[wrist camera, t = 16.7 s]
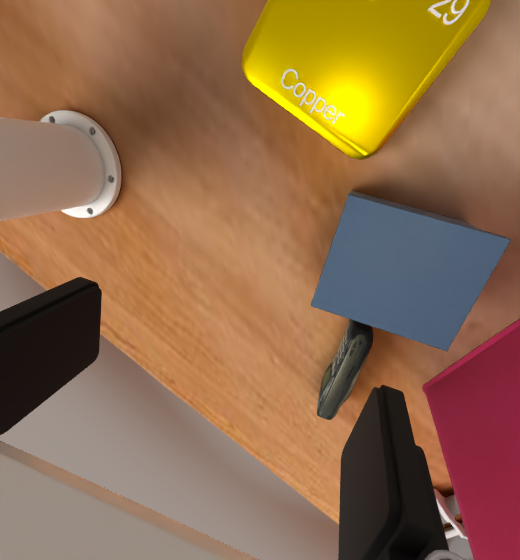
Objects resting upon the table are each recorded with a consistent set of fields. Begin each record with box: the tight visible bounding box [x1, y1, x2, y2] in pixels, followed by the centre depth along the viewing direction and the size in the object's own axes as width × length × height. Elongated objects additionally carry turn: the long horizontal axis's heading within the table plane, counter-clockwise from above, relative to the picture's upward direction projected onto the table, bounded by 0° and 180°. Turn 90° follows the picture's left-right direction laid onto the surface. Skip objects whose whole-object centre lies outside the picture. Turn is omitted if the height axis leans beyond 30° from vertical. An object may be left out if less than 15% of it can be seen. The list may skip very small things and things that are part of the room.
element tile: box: [241, 0, 492, 160], centre depth 28 cm, size 15×15×5 cm
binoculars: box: [434, 489, 473, 560], centre depth 44 cm, size 12×8×4 cm, turn 48°
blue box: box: [311, 190, 511, 351], centre depth 32 cm, size 13×11×8 cm
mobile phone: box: [317, 319, 373, 420], centre depth 39 cm, size 5×3×15 cm
